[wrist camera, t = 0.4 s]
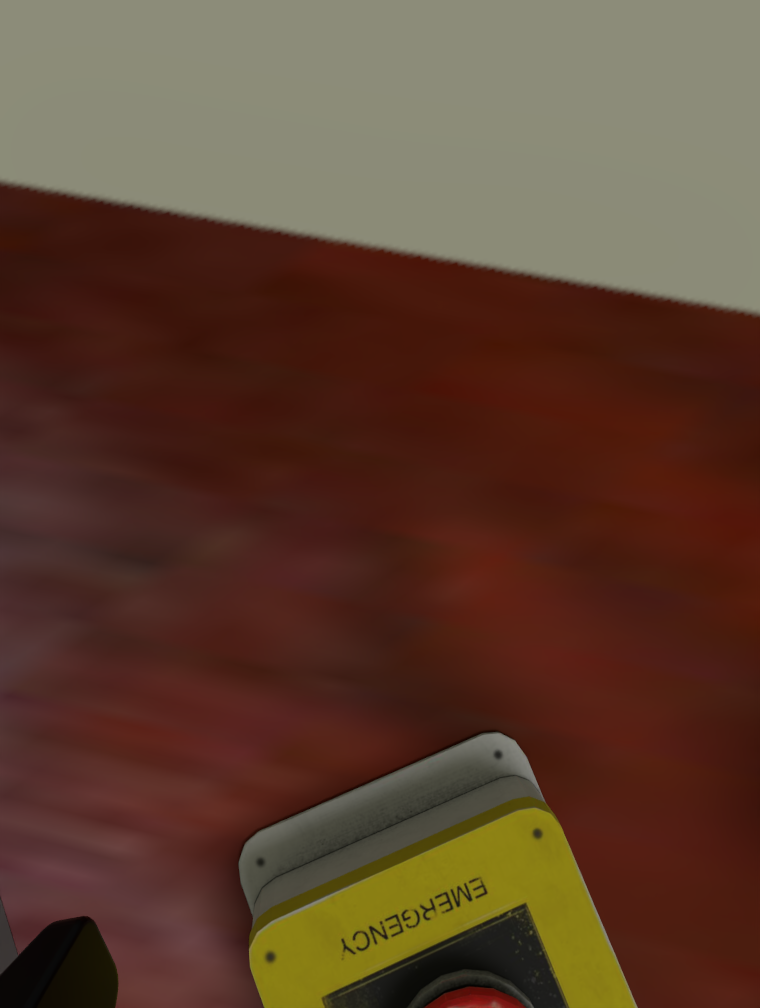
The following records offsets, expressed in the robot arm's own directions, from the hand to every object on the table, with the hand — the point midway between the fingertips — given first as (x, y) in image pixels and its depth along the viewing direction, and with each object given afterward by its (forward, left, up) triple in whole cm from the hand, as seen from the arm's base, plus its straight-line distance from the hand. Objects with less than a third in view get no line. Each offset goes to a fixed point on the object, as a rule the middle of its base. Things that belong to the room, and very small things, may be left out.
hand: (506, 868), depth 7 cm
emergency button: (-9, +2, -15) cm, 18 cm away
